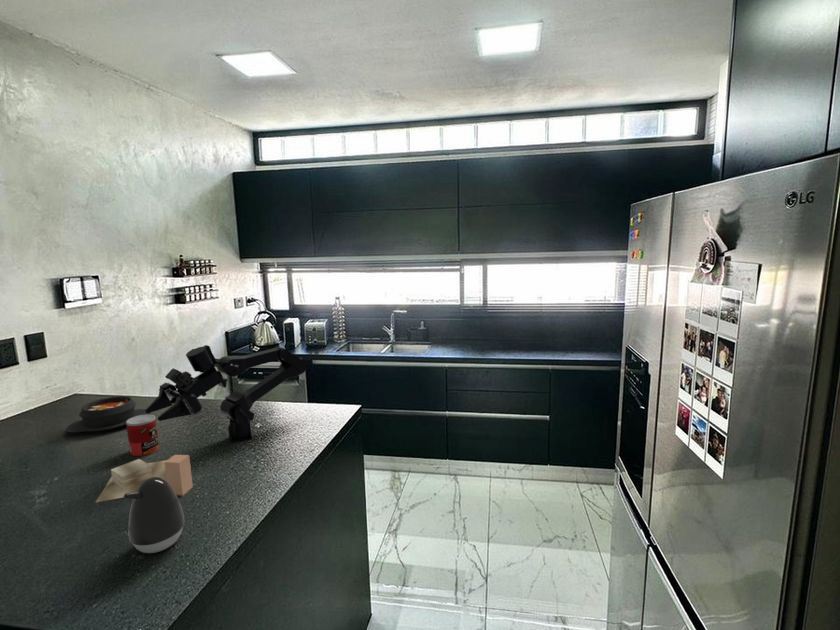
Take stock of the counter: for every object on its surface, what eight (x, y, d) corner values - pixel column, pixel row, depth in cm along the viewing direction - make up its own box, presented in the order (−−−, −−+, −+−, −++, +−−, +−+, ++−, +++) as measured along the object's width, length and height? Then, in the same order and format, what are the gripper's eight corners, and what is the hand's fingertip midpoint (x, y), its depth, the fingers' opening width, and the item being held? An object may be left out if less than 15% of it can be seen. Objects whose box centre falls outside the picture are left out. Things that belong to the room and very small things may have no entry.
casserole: (151, 409, 173) (148, 389, 171) (151, 425, 157) (148, 403, 156) (71, 424, 160) (67, 402, 158) (62, 443, 144) (58, 419, 143)
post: (178, 488, 115) (174, 454, 114) (193, 488, 115) (189, 455, 113) (168, 496, 111) (164, 462, 110) (183, 497, 111) (179, 462, 109)
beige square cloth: (187, 458, 131) (186, 456, 131) (177, 489, 115) (176, 487, 115) (117, 470, 125) (116, 468, 125) (95, 504, 109) (95, 502, 109)
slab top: (140, 464, 123) (139, 458, 123) (151, 471, 120) (151, 465, 119) (111, 475, 118) (110, 469, 118) (123, 483, 114) (122, 476, 114)
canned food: (146, 459, 132) (141, 424, 130) (124, 457, 133) (119, 423, 132) (165, 447, 139) (161, 414, 137) (144, 445, 141) (140, 413, 139)
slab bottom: (140, 470, 124) (140, 464, 123) (152, 477, 120) (151, 471, 120) (112, 481, 118) (111, 475, 118) (124, 489, 114) (123, 483, 114)
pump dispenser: (120, 551, 92) (110, 484, 89) (170, 523, 100) (162, 462, 98) (146, 568, 86) (136, 498, 84) (196, 538, 95) (188, 473, 93)
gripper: (176, 357, 137) (125, 386, 126) (204, 367, 125) (150, 400, 115) (193, 386, 141) (145, 416, 131) (221, 398, 130) (170, 432, 119)
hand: (151, 415), depth 124 cm, fingers open, 9 cm apart
